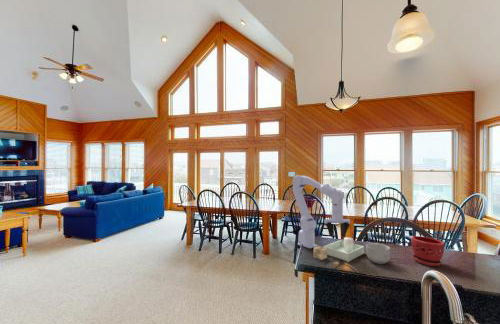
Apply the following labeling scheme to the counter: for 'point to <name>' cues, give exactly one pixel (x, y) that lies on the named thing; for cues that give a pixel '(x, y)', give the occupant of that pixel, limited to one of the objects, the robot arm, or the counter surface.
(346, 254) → the tote
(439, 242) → the plant pot
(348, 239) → the white canister
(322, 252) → the oak cube
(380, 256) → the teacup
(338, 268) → the counter surface
